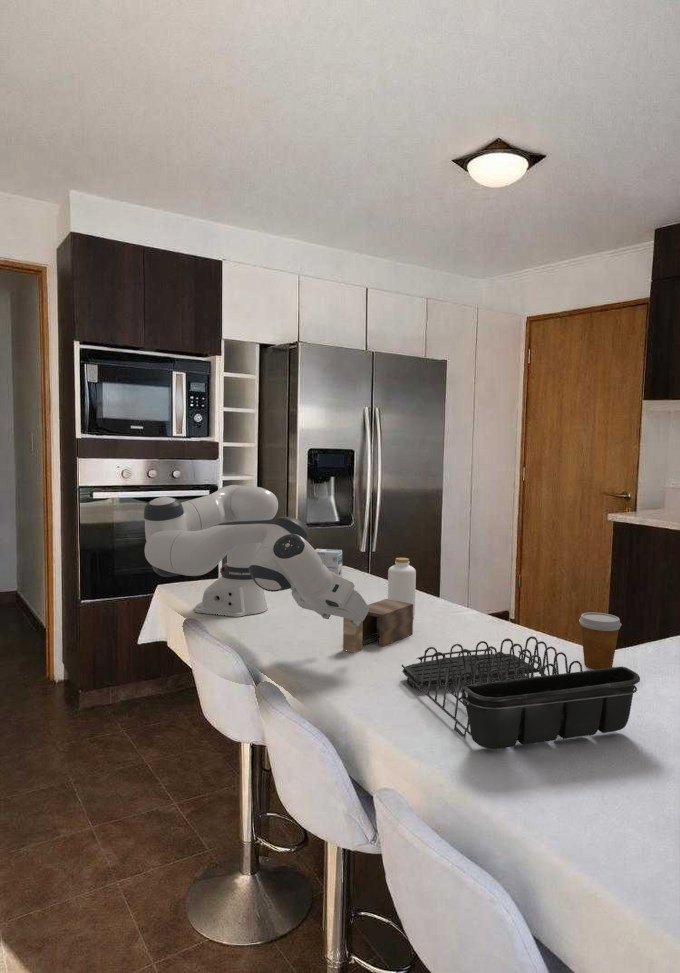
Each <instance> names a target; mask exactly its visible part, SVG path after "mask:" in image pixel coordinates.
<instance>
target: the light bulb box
mask: <svg viewBox="0 0 680 973" xmlns="http://www.w3.org/2000/svg"><path fill="white" fill-rule="evenodd" d="M314 550H315V551H316V552H317V554H318V555H319V556H320V558H321V560H322V564H324V565H325V566H326V567H327V568H328V569H329V571H330V572H333V573H335V574H336V575H338V576H340V577H342V578H343V550H342V549H328V548H325V549H323V548H316V549H314Z"/></svg>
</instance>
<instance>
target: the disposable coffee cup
mask: <svg viewBox="0 0 680 973" xmlns="http://www.w3.org/2000/svg"><path fill="white" fill-rule="evenodd" d="M578 621H579V625H580V628H581V639H582V651H583V652H582V653H583V663H584V666H585V665H586V667H587V668H589V669H592V668H593V669H592V670H597V669H606V668H613V663H614V658H615V654H616V653H615V652H616V647H617V643H618V642H617V641H618V636H619V632H620V629H621V627H622V623H621V620H620V617H618V616H616V615H613V614H609V613H603V612H584V613H581V615H580V618H579V619H578Z"/></svg>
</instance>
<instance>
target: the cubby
mask: <svg viewBox="0 0 680 973" xmlns="http://www.w3.org/2000/svg"><path fill="white" fill-rule="evenodd" d="M367 605H368V607H369V611H368V614H367V616H366V617H365V619H364V620H363V626H362V640H364V639H366V638H368V637H372V636H374V635H377V617H378V618H380V633H379V639H378V641H379V642H378V643H379V644H378V645H379V647H383V648H384V647H385V646H388V645H390V644H392V643H395V642H396V641H399V640H402V639H404V638H406V636H407V637H409V636H411V635H413V634H414V628H413V627H414V617H413V604H411V603H405V602H400V601H395V600H389V599H388V598H384V599H381V600H379V601H376V602H373V603H370V604H367ZM408 635H409V636H408Z"/></svg>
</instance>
